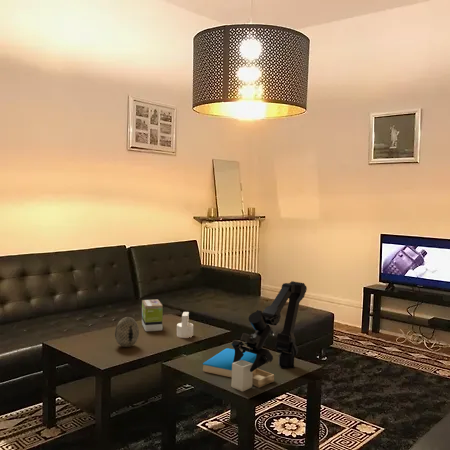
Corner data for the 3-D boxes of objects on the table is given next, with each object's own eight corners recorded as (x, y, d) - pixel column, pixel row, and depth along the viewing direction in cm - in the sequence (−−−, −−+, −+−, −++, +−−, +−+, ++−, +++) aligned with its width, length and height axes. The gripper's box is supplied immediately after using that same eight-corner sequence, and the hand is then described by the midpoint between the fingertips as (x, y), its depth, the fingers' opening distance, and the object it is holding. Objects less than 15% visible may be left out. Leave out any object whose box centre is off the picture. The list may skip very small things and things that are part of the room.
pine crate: (255, 374, 215) (256, 368, 215) (274, 381, 208) (274, 374, 208) (240, 380, 208) (240, 373, 207) (258, 387, 201) (259, 380, 201)
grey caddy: (241, 383, 205) (242, 359, 204) (252, 387, 201) (253, 363, 200) (231, 387, 200) (232, 363, 200) (242, 391, 196) (243, 367, 196)
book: (202, 363, 217) (226, 347, 239) (202, 373, 217) (225, 355, 240) (237, 370, 209) (259, 353, 232) (237, 380, 210) (258, 361, 232)
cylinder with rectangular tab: (192, 338, 264) (192, 316, 263) (175, 337, 264) (176, 315, 264) (193, 333, 273) (194, 312, 272) (177, 332, 273) (178, 311, 273)
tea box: (141, 324, 288) (141, 299, 287) (158, 323, 291) (158, 298, 290) (144, 331, 274) (145, 305, 273) (162, 330, 277) (163, 304, 276)
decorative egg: (112, 344, 249) (112, 315, 248) (134, 341, 255) (135, 313, 253) (118, 351, 239) (118, 321, 238) (141, 348, 244) (142, 319, 243)
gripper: (235, 320, 209) (216, 351, 202) (269, 330, 196) (250, 363, 189) (246, 335, 215) (228, 366, 208) (280, 346, 202) (262, 378, 195)
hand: (241, 368), depth 200 cm, fingers open, 9 cm apart
